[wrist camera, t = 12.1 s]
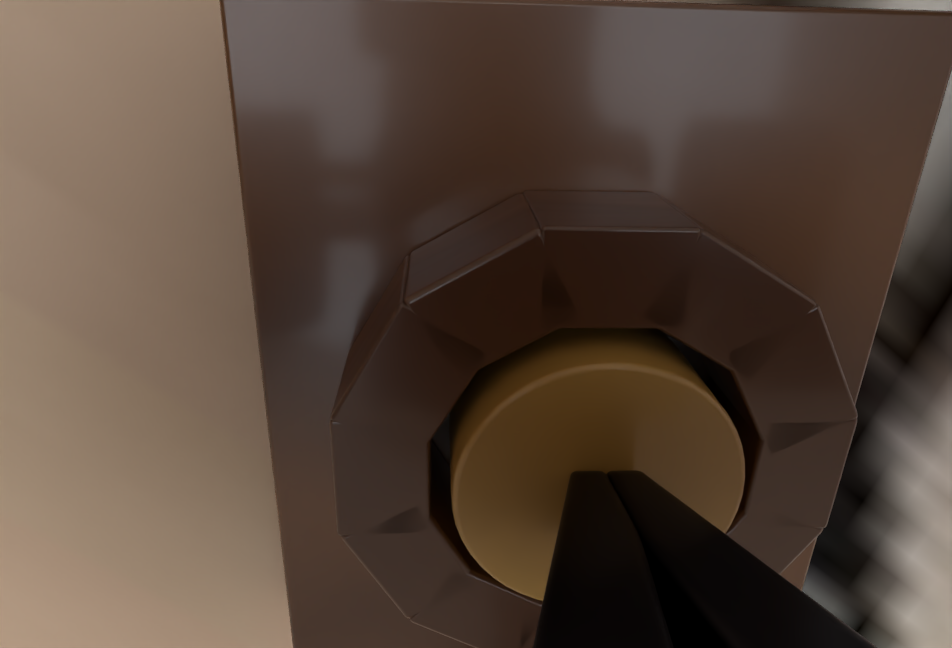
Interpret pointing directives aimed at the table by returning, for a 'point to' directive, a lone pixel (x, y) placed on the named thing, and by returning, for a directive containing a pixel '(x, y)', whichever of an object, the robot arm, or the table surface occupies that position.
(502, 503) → the call button
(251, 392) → the table surface
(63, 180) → the table surface
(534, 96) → the block
